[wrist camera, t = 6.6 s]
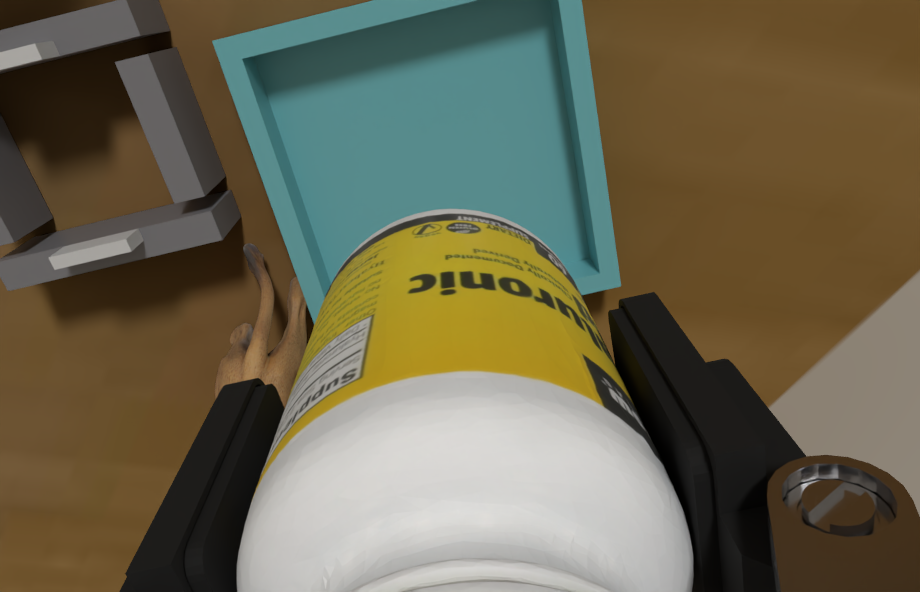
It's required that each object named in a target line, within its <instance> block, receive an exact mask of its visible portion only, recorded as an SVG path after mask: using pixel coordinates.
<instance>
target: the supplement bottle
mask: <svg viewBox="0 0 920 592" xmlns="http://www.w3.org/2000/svg"><path fill="white" fill-rule="evenodd" d="M693 578H694V570H693V550H692V543H691V537H690V532H689V528H688V524H687V521H686V517H685V514H684V511H683V508H682V506H681V504H680V501H679V499H678V497H677V494H676V492H675V490H674V486H673V484H672V482H671V480H670V478H669V476H668V473H667V470H666V467H665V464H664V461H663V459H662V458H661V456H660V454H659V452H658V450H657V448H656V447H655V445H654V444H653V442H652V440H651V438H650V436H649V434H648V432H647V430H646V428H645V427H644V424H643V421H642V419H641V417H640V416H639V413H638V411H637V409H636V407H635V405H634V403H633V401H632V399H631V397H630V395H629V393H628V391H627V389H626V387H625V385H624V383H623V380H622V378H621V376H620V374H619V372H618V370H617V368H616V366H615V364H614V362H613V360H612V358H611V355H610V353H609V351H608V349H607V347H606V345H605V343H604V341H603V339H602V337H601V335H600V333H599V331H598V328H597V326H596V324H595V322H594V320H593V318H592V317H591V315H590V313H589V310H588V308H587V306H586V304H585V301H584V299H583V297H582V295H581V293H580V291H579V289H578V288H577V286H576V284H575V282H574V280H573V278H572V277H571V275H570V274H569V272H568V271H567V269H566V268H565V266H564V265H563V263H562V262H561V261H560V259H559V258H558V257H557V255H556V254H555V253H554V252H553V251H552V250H551V249H550V248H549V247H548V246H547V245H546V244H545V243H544V242H543V241H542V240H540V239H539V238H538V237H537V236H535V235H534V234H532V233H531V232H530V231H528V230H527V229H525V228H523V227H521V226H520V225H518V224H516V223H514V222H512V221H509V220H507V219H505V218H502V217H499V216H496V215H493V214H489V213H485V212H481V211H475V210H466V209H439V210H431V211H426V212H421V213H417V214H414V215H410V216H407V217H405V218H402V219H400V220H397V221H395V222H393V223H391V224H389V225H387V226H386V227H384V228H382V229H380V230H379V231H377V232H376V233H374V234H373V235H371V236H370V237H369V238H368V239H366V240H365V241H364V242H363V243H361V244H360V245H359V246H358V247H357V248H356V249H355V250H354V251H353V252H352V253H351V255H350V256H349V257H348V258H347V259H346V260H345V262H344V263H343V264H342V266H341V267H340V269H339V270H338V272H337V274H336V276H335V278H334V280H333V282H332V283H331V285H330V287H329V289H328V291H327V293H326V296H325V298H324V301H323V303H322V306H321V309H320V311H319V314H318V317H317V319H316V322H315V325H314V328H313V331H312V334H311V336H310V339H309V342H308V344H307V347H306V350H305V353H304V356H303V358H302V362H301V365H300V367H299V370H298V372H297V375H296V378H295V381H294V384H293V386H292V389H291V392H290V395H289V398H288V401H287V404H286V407H285V410H284V413H283V415H282V418H281V421H280V423H279V426H278V429H277V432H276V435H275V438H274V441H273V444H272V446H271V449H270V452H269V455H268V457H267V460H266V463H265V466H264V468H263V471H262V473H261V476H260V480H259V482H258V485H257V487H256V490H255V493H254V496H253V499H252V502H251V505H250V509H249V512H248V516H247V519H246V522H245V526H244V530H243V535H242V539H241V544H240V548H239V553H238V560H237V592H692V588H693Z"/></svg>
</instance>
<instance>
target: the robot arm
mask: <svg viewBox="0 0 920 592" xmlns="http://www.w3.org/2000/svg"><path fill="white" fill-rule="evenodd" d="M608 317H609V325H610V332H611V339H612V345H613V352H614V359H615V366H616V368H617V370H618V372H619V374H620V376H621V378H622V380H623V383H624V385H625V387H626V389H627V391H628V393H629V395H630V397H631V399H632V401H633V403H634V405H635V407H636V409H637V411H638V413H639V416H640V417H641V419H642V421H643V424H644V427H645V428H646V430H647V432H648V434H649V436H650V438H651V440H652V442H653V444H654V445H655V447H656V448H657V450H658V452H659V454H660V456H661V458H662V459H663V461H664V464H665V467H666V470H667V473H668V476H669V478H670V480H671V482H672V484H673V486H674V490H675V492H676V494H677V497H678V499H679V501H680V504H681V506H682V508H683V511H684V514H685V517H686V521H687V524H688V528H689V532H690V537H691V543H692V550H693V570H694V578H693V588H692V592H920V517H919V514H918V512H917V509H916V507H915V504H914V502H913V500H912V498H911V497H910V495H909V493H908V492H907V490H906V489H905V487H904V486H903V485H902V484H901V483H900V482H898V481H897V480H896V479H895V478H894V477H892V476H891V475H890V474H889V473H887V472H885V471H883V470H881V469H879V468H877V467H875V466H873V465H871V464H869V463H866V462H863V461H859V460H856V459H852V458H849V457H841V456H831V455H821V456H808V457H806V455H805V454H804V453H803V452H802V450H801V449H800V448H799V447H798V445H797V444H796V443H795V441H794V440H793V439H792V438H791V436H790V435H789V434H788V433H787V431H786V430H785V429H784V428H783V426H782V425H781V424H780V422H779V421H778V420H777V419H776V417H775V416H774V415H773V414H772V413H771V411H770V410H769V409H768V407H767V406H766V405H765V404H764V402H763V401H762V400H761V399H760V397H759V396H758V395H757V393H756V392H755V391H754V390H753V388H752V387H751V386H750V385H749V383H748V382H747V381H746V380H745V378H744V377H743V376H742V375H741V373H740V372H739V371H738V369H737V368H736V367H735V366H734V364H732V363H731V362H730V361H729V360H728V359H721V360H716V361H711V362H705V361H704V360H703V358H702V357H701V356H700V354H699V353H698V351H697V350H696V349H695V347H694V346H693V344H692V343H691V342H690V340H689V339H688V338H687V336H686V335H685V333H684V332H683V331H682V329H681V328H680V326H679V325H678V324H677V322H676V321H675V320H674V318H673V317H672V315H671V314H670V313H669V311H668V310H667V308H666V307H665V306H664V304H663V303H662V302H661V300H660V299H659V297H658V296H657V295H656V294H655V293H654V292H652V293H648V294H643V295H638V296H634V297H629V298H625V299H620V300H619V309H615V310H610V311H609V312H608ZM284 410H285V408H284V406H283V403H282V401H281V398H280V396H279V393H278V391H277V389H276V387H275V386H274V385H273V384H267V385H265V384H264V382H263V381H262V380H261V379H259V378H255V379H250V380H245V381H241V382H236V383H231V384H227V385H224V386H223V387H222V389H221V390H220V392H219V394H218V396H217V398H216V400H215V402H214V404H213V406H212V408H211V410H210V412H209V414H208V415H207V417H206V419H205V421H204V423H203V425H202V427H201V429H200V431H199V433H198V435H197V437H196V439H195V441H194V442H193V444H192V446H191V448H190V450H189V452H188V454H187V456H186V458H185V460H184V462H183V464H182V466H181V468H180V469H179V471H178V473H177V475H176V477H175V479H174V481H173V483H172V485H171V487H170V489H169V491H168V493H167V494H166V496H165V498H164V500H163V502H162V504H161V506H160V508H159V510H158V512H157V514H156V516H155V518H154V520H153V521H152V523H151V525H150V527H149V529H148V531H147V533H146V535H145V537H144V539H143V541H142V543H141V545H140V546H139V548H138V550H137V552H136V554H135V556H134V558H133V560H132V562H131V564H130V566H129V568H128V570H127V572H126V573H125V574H126V576H127V578H126V580H125V582H124V584H123V586H122V588H121V590H120V592H237V560H238V553H239V548H240V544H241V539H242V535H243V530H244V526H245V522H246V519H247V516H248V512H249V509H250V505H251V502H252V499H253V496H254V493H255V490H256V487H257V485H258V482H259V480H260V476H261V473H262V471H263V468H264V466H265V463H266V460H267V457H268V455H269V452H270V449H271V446H272V444H273V441H274V438H275V435H276V432H277V429H278V426H279V423H280V421H281V418H282V415H283V413H284Z"/></svg>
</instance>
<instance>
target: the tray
mask: <svg viewBox="0 0 920 592" xmlns="http://www.w3.org/2000/svg"><path fill="white" fill-rule="evenodd" d="M212 42H213V45H214V48H215V50H216V53H217V56H218V59H219V62H220V64H221V67H222V70H223V73H224V75H225V78H226V81H227V84H228V86H229V89H230V92H231V95H232V98H233V100H234V103H235V106H236V109H237V111H238V114H239V117H240V120H241V123H242V125H243V128H244V131H245V134H246V136H247V139H248V142H249V145H250V148H251V150H252V153H253V156H254V159H255V161H256V164H257V167H258V170H259V173H260V175H261V178H262V181H263V184H264V186H265V189H266V192H267V195H268V198H269V200H270V203H271V206H272V209H273V211H274V214H275V217H276V220H277V223H278V225H279V228H280V231H281V234H282V236H283V239H284V242H285V245H286V248H287V250H288V253H289V256H290V259H291V261H292V264H293V267H294V270H295V273H296V275H297V278H298V281H299V284H300V286H301V289H302V292H303V295H304V298H305V300H306V303H307V306H308V309H309V311H310V314H311V317H312V320H313V323H314V325H315V322H316V319H317V317H318V314H319V311H320V309H321V306H322V303H323V301H324V298H325V296H326V293H327V291H328V289H329V287H330V285H331V283H332V282H333V280H334V278H335V276H336V274H337V272H338V270H339V269H340V267H341V266H342V264H343V263H344V262H345V260H346V259H347V258H348V257H349V256H350V255H351V253H352V252H353V251H354V250H355V249H356V248H357V247H358V246H359V245H360V244H361V243H363V242H364V241H365V240H366V239H368V238H369V237H370V236H371V235H373V234H374V233H376V232H377V231H379V230H380V229H382V228H384V227H386V226H387V225H389V224H391V223H393V222H395V221H397V220H400V219H402V218H405V217H407V216H410V215H414V214H417V213H421V212H426V211H431V210H439V209H466V210H475V211H481V212H485V213H489V214H493V215H496V216H499V217H502V218H505V219H507V220H509V221H512V222H514V223H516V224H518V225H520V226H521V227H523V228H525V229H527V230H528V231H530V232H531V233H532V234H534V235H535V236H537V237H538V238H539V239H540V240H542V241H543V242H544V243H545V244H546V245H547V246H548V247H549V248H550V249H551V250H552V251H553V252H554V253H555V254H556V255H557V257H558V258H559V259H560V261H561V262H562V263H563V265H564V266H565V268H566V269H567V271H568V272H569V274H570V275H571V277H572V278H573V280H574V282H575V284H576V286H577V288H578V289H579V291H580V293H581V295H585V294H589V293H594V292H598V291H602V290H607V289H611V288H616V287H620V286H621V282H620V275H619V268H618V260H617V253H616V246H615V239H614V231H613V224H612V217H611V210H610V203H609V195H608V188H607V181H606V174H605V166H604V159H603V152H602V145H601V137H600V130H599V123H598V116H597V109H596V101H595V94H594V87H593V80H592V72H591V65H590V58H589V51H588V44H587V36H586V29H585V22H584V15H583V7H582V0H373V1H369V2H365V3H361V4H357V5H353V6H349V7H345V8H341V9H337V10H333V11H329V12H325V13H321V14H317V15H313V16H309V17H305V18H301V19H298V20H294V21H290V22H286V23H282V24H278V25H274V26H270V27H266V28H262V29H258V30H254V31H250V32H246V33H242V34H238V35H234V36H230V37H226V38H222V39H218V40H214V41H212Z"/></svg>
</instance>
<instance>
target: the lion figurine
mask: <svg viewBox="0 0 920 592" xmlns="http://www.w3.org/2000/svg"><path fill="white" fill-rule="evenodd" d="M243 250H244V254H245V256H246V258H247V261H248V266H249V269H250V271H251V272H252V273H253V274H254V275H255V277H256V278H257V280H258V282H259V285H260V288H261V303H260V310H259V314H258V318H257V322H256V325H255V327H254V330H253V328H252V326H251V325H250V324H247V323H244V324H242V325H240V326H238V327H236V328H235V329H234V331H233V332H232V334H231V337H230V343H231V344H232V348H231V349H230V351H229V352H228V354H227V355H226V356H225V357H224V358H223V359H222V360H221V362H220V365H219V369H218V373H217V378H216V384H215V397H216V398H217V396H218V394H219V392H220V390H221V389H222V387H223V386H224V385H227V384H231V383H236V382H241V381H245V380H250V379H255V378H259V379H261V380H262V381H263V382H264V384H265V385H267V384H273V385H274V386H275V387H276V389H277V391H278V393H279V396H280V398H281V401H282V403H283V406H284V408H285V407H286V404H287V401H288V398H289V395H290V392H291V389H292V386H293V384H294V381H295V378H296V375H297V372H298V370H299V367H300V365H301V362H302V358H303V356H304V353H305V350H306V346H307V331H306V307H307V303H306V300H305V298H304V295H303V292H302V289H301V286H300V284H299V281H298V278H297V276H296V277H294V278H293V279H292V280H291V282H290V291H289V295H288V301H287V305H288V313H289V315H288V324H287V327H286V329H285V332H284V335H283V338H282V340H281V341H280V343H279V344H278V345H277V346H276V347H275V348H274V349H273V350H272V351H271V352H270V353H269V354H268V353H267V343H268V338H269V333H270V328H271V323H272V316H273V308H274V290H273V286H272V282H271V279H270V277H269V275H268V273H267V271H266V268H265V265H264V257H263V254H261V253H260V252H259V250H258V249H257V247H256V246H255V245H253V244H251V243H249V244H245V245H244V247H243Z"/></svg>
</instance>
